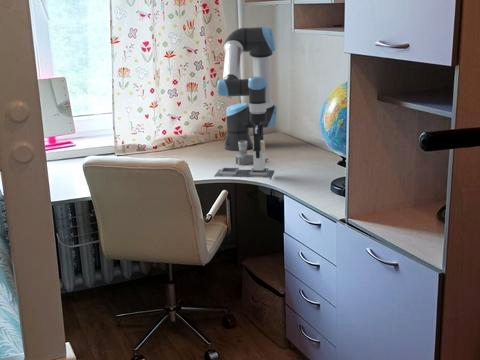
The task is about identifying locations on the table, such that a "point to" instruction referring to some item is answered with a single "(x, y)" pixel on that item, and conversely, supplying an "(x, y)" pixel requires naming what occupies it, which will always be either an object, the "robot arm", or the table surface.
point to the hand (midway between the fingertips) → (259, 163)
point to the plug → (262, 166)
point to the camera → (244, 154)
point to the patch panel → (244, 173)
